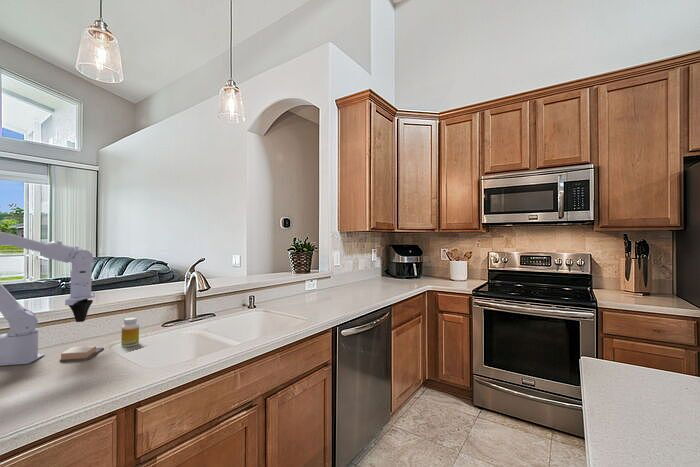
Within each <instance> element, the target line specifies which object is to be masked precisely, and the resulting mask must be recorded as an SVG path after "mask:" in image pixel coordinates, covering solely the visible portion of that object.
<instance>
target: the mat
mask: <svg viewBox="0 0 700 467" xmlns="http://www.w3.org/2000/svg"><path fill="white" fill-rule="evenodd" d="M104 349H105V348H104V347H96V352H95V353H93V354H92V355H90V356H89V357H87V358H79V359H65V360H61V358H60V359H59V362H60V363H61V362H76V361H89V360H90V359H92V358H93V357H95V356H96V355H98V354H99V353H100V352H102V351H104Z"/></svg>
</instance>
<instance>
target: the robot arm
mask: <svg viewBox="0 0 700 467" xmlns="http://www.w3.org/2000/svg"><path fill="white" fill-rule="evenodd" d="M1 246H2V247H3V246H12V247H16V248H20V249H25V250H30V251H35V252H39V253H41V255H42V256H43V258H46V259H50V260H53V261H58V262H62V263H71V270H70V291H69V292H70V296H69V297H68V298H66V299H65V302H64V305H65V306H68V307H69V308H70V309H71V311H72V314H73V316H74V319H75V322H76V323H83V322H85V321H86V320H87V319H86V318H87V315H88V312H89V309H90V308H91V305H92V304H93V302H94V300H93V299H95V297H96V296H95V294H96V292H95V291H93V292H92V274H93V273H92V264H93V262H94V259H95V258H94V257H93V254H92V252H90V251H89V250H86V249H83V248H80V247H79V246H71V245H68V244H64V243H63V242H62V241H59V240H56V242H55V241H54V240H53V241H49V242H47V243H44V242H40V241H37V240H35V239H30V238H27V237H24V236H20V235H17V234H12V233H10V232H2V231H0V247H1ZM3 285H4V284H2V283H1V282H0V313H1V315H2V316H3V317H4V319H5V320H6V321H7V322H8V326H9V331H8V332H6V333H4V334H1V335H0V366H13V365H14V366H16V365H27V364H31V363H33V362H34V361H36V360H38V359H40V358H42V357H44V356H45V355H46V353H39V328H37V327H38V325H39V320H38V318H37V317H36V313H34V312H33V311H32V310H29V309H27V308H25V307H24V306H23V305H22V304H21V303H20V302H18V300H17V299H16V298H15V297H14V296H13V295H12V293H10V292H9V291H8V290H7V289H6V287H4V286H3Z"/></svg>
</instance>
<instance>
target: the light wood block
mask: <svg viewBox="0 0 700 467" xmlns="http://www.w3.org/2000/svg"><path fill="white" fill-rule="evenodd" d="M96 348H97V346H96V345H91V346H90V345H89V346H88V345H87V346H71V347H70V348H68V349H67V350H64V351H63V352H61V354H60V359H61V360H65V359H79V358H87V357H89V356H90V355H92V354H93V353H95V352H96Z"/></svg>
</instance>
